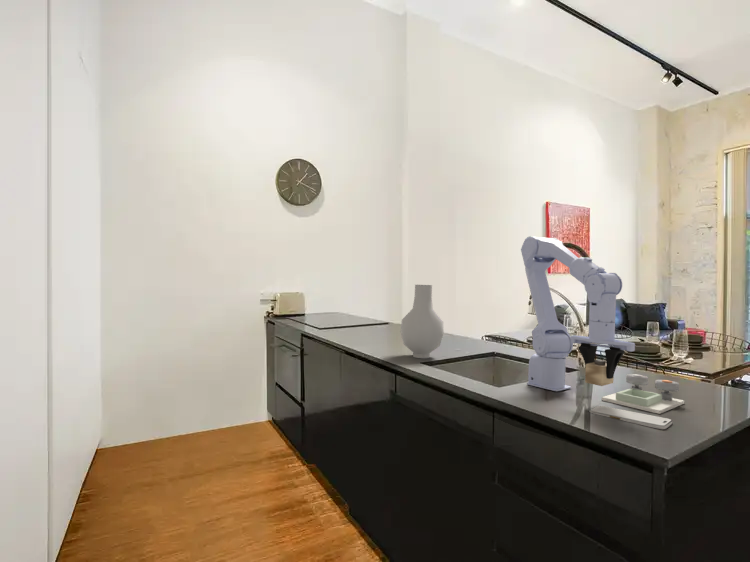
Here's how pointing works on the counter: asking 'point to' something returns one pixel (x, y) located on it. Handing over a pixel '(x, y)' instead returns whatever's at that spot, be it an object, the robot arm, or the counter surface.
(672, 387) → the grey rounded cap
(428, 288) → the vase
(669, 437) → the counter surface
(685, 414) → the counter surface
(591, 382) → the tan wooden block
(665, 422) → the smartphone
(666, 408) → the chassis
